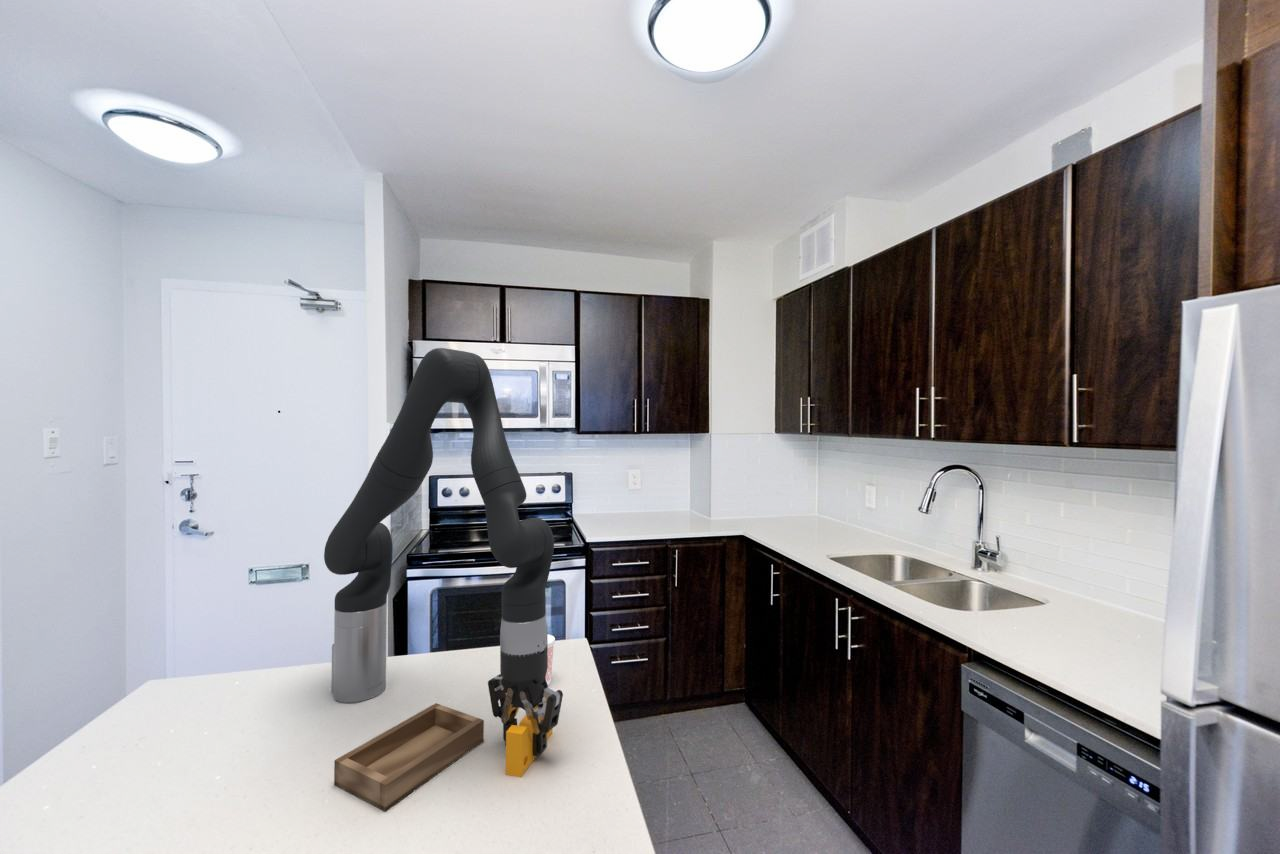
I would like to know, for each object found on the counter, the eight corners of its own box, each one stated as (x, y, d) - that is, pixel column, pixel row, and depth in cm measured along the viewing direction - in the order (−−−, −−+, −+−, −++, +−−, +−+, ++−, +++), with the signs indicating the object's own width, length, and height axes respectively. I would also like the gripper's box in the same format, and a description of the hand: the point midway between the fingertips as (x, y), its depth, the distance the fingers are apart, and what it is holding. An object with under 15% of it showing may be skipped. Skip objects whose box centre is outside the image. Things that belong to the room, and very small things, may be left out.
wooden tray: (334, 784, 77) (334, 760, 77) (435, 723, 93) (435, 703, 93) (385, 811, 71) (385, 785, 72) (483, 741, 88) (483, 719, 88)
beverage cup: (520, 688, 106) (520, 619, 106) (530, 675, 112) (531, 609, 112) (549, 691, 105) (550, 621, 105) (558, 677, 111) (558, 610, 111)
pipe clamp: (529, 729, 91) (529, 692, 92) (552, 732, 90) (552, 695, 91) (495, 772, 80) (495, 730, 80) (521, 777, 79) (521, 734, 79)
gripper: (474, 644, 85) (474, 749, 85) (545, 660, 78) (546, 775, 78) (506, 628, 92) (506, 726, 91) (573, 642, 85) (574, 748, 85)
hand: (524, 748), depth 85 cm, fingers closed on pipe clamp, 5 cm apart
